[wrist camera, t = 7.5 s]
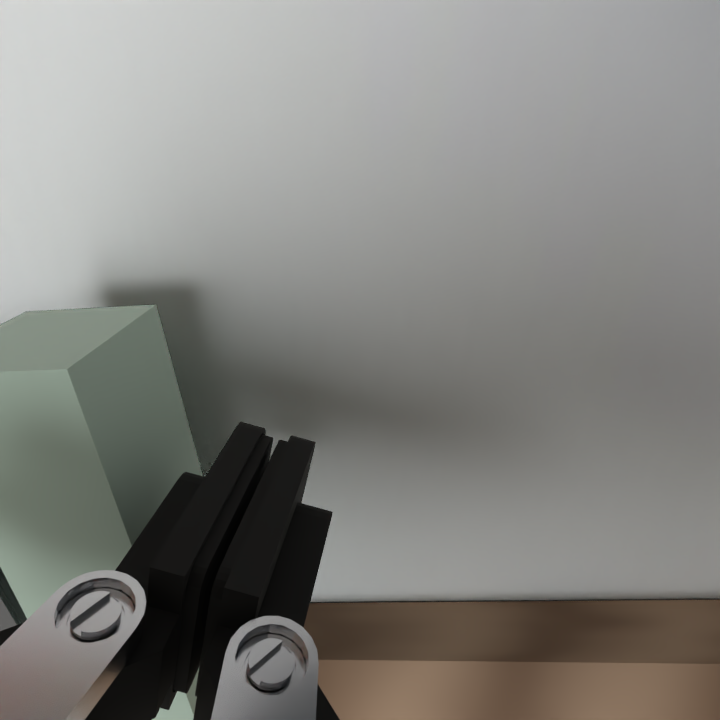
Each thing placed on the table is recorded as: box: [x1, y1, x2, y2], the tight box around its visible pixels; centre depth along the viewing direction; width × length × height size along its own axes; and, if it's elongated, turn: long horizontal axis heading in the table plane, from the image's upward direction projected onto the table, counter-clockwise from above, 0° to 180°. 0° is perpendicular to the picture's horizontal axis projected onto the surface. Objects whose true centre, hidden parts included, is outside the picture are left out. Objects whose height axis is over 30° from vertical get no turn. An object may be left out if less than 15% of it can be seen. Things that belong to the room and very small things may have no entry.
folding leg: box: [0, 304, 203, 720], centre depth 13 cm, size 15×3×3 cm, turn 5°
